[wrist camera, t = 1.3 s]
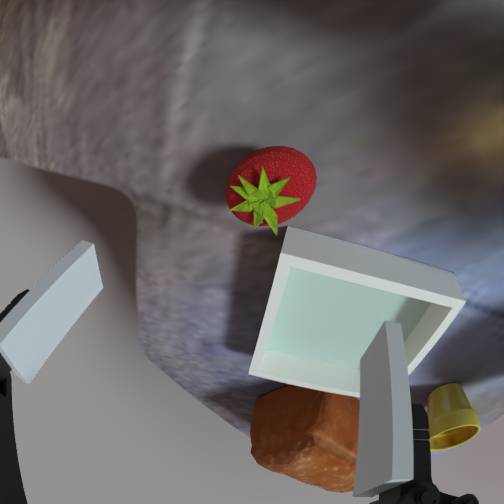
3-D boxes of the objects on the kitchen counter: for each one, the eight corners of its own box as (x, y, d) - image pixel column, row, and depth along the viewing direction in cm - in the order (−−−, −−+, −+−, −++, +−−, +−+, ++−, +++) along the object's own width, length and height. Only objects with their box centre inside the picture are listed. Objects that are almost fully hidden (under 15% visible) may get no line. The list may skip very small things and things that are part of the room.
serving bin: (287, 225, 31) (280, 252, 27) (453, 272, 29) (466, 301, 25) (256, 346, 42) (248, 373, 38) (383, 373, 40) (384, 400, 36)
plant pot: (467, 367, 37) (478, 418, 29) (474, 392, 40) (482, 436, 32) (411, 390, 42) (415, 441, 34) (426, 411, 45) (429, 455, 37)
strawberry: (330, 173, 27) (332, 222, 19) (265, 209, 30) (239, 267, 22) (296, 119, 25) (281, 142, 17) (230, 161, 28) (188, 203, 20)
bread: (326, 440, 57) (317, 498, 45) (250, 396, 51) (229, 467, 39) (394, 421, 48) (393, 487, 36) (327, 368, 42) (317, 459, 30)
